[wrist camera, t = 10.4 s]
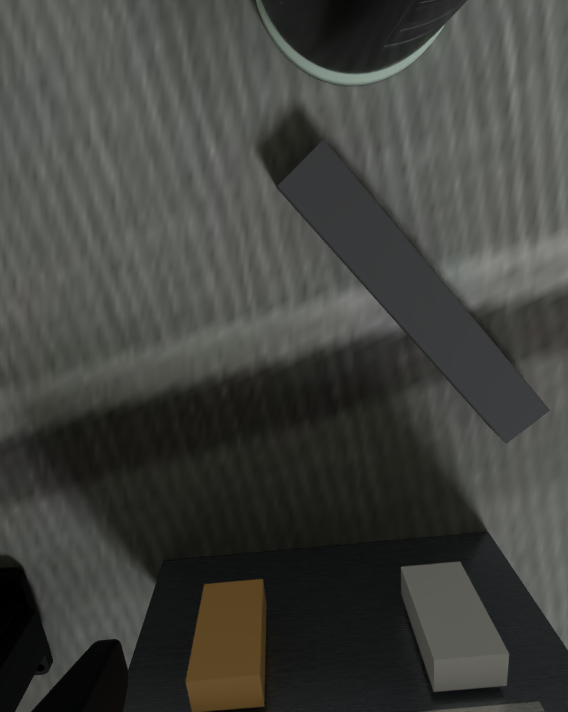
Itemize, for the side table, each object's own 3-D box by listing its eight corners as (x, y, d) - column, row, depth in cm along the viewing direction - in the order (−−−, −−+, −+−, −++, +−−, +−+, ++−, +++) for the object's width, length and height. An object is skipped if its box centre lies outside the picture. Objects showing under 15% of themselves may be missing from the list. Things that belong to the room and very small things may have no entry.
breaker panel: (171, 599, 23) (97, 874, 13) (162, 557, 22) (77, 817, 13) (486, 571, 23) (639, 830, 13) (488, 528, 22) (652, 770, 12)
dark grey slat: (526, 393, 20) (549, 410, 19) (486, 424, 21) (506, 443, 19) (319, 146, 17) (323, 138, 15) (277, 188, 18) (277, 186, 16)
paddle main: (209, 610, 19) (192, 712, 15) (204, 584, 18) (185, 681, 14) (266, 606, 19) (264, 706, 15) (263, 579, 18) (260, 674, 14)
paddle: (401, 594, 19) (433, 692, 15) (400, 566, 18) (434, 660, 14) (459, 588, 19) (506, 685, 15) (460, 561, 18) (509, 653, 14)
